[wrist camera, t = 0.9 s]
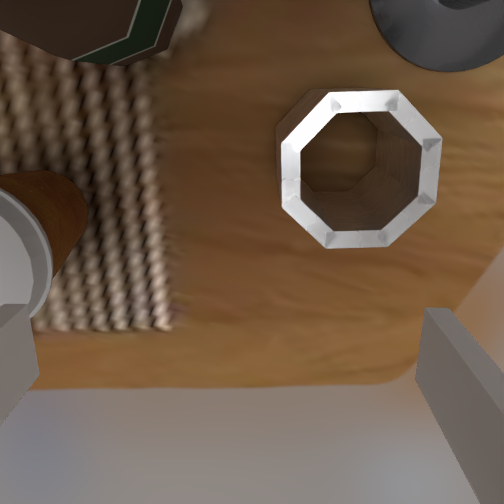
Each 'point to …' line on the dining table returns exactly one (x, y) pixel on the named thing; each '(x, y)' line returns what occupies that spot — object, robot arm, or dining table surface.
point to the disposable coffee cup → (36, 233)
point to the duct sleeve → (374, 182)
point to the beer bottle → (93, 27)
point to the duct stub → (442, 31)
